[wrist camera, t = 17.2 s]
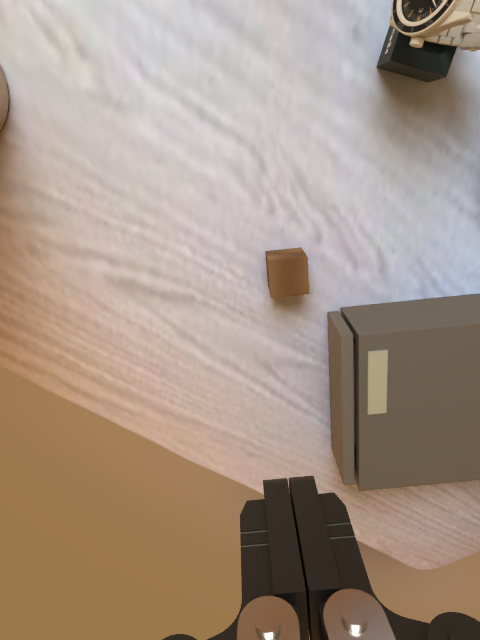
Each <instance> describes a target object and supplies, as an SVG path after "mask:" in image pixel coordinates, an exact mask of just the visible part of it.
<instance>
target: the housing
mask: <svg viewBox="0 0 480 640" xmlns="http://www.w3.org/2000/svg"><path fill="white" fill-rule="evenodd" d="M341 316H342V318H343V319H344V321H345V322H346V324H347V326H348V327H349V329H350V330H351V332H352V334H353V338H354V340H355V341H356V447H354V478H355V480H356V483H357V486H358V489H359V491H364V490H374V489H385V488H396V487H407V486H418V485H429V484H440V483H451V482H461V481H472V480H480V294H471V295H461V296H451V297H441V298H431V299H422V300H412V301H402V302H392V303H382V304H372V305H362V306H352V307H342V308H341Z"/></svg>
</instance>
